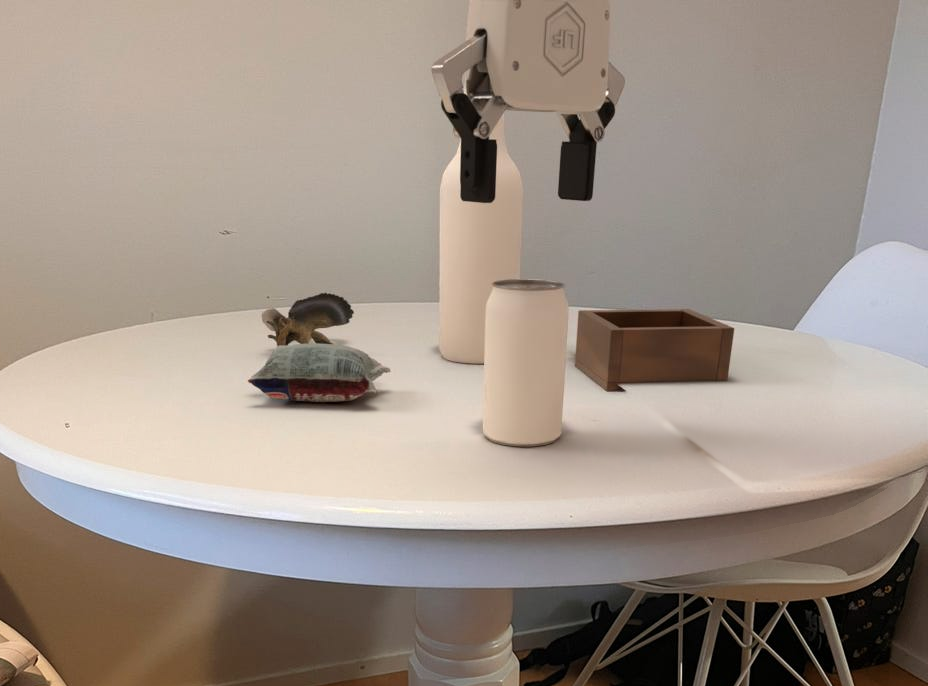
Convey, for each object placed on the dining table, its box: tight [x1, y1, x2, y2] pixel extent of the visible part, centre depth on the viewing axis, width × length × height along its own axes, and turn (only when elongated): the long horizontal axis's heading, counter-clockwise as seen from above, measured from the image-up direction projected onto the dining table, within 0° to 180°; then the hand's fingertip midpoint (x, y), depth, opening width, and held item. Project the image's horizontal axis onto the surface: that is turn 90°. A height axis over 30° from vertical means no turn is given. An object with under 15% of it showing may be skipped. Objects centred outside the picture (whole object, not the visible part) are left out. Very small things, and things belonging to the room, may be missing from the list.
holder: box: [574, 308, 735, 392], centre depth 101 cm, size 12×12×6 cm
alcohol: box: [438, 84, 524, 365], centre depth 104 cm, size 9×9×30 cm
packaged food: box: [247, 343, 391, 403], centre depth 91 cm, size 9×12×5 cm
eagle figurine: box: [260, 292, 355, 348], centre depth 111 cm, size 8×7×9 cm
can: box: [482, 278, 570, 448], centre depth 78 cm, size 6×6×12 cm
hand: (527, 200), depth 72 cm, fingers open, 9 cm apart
